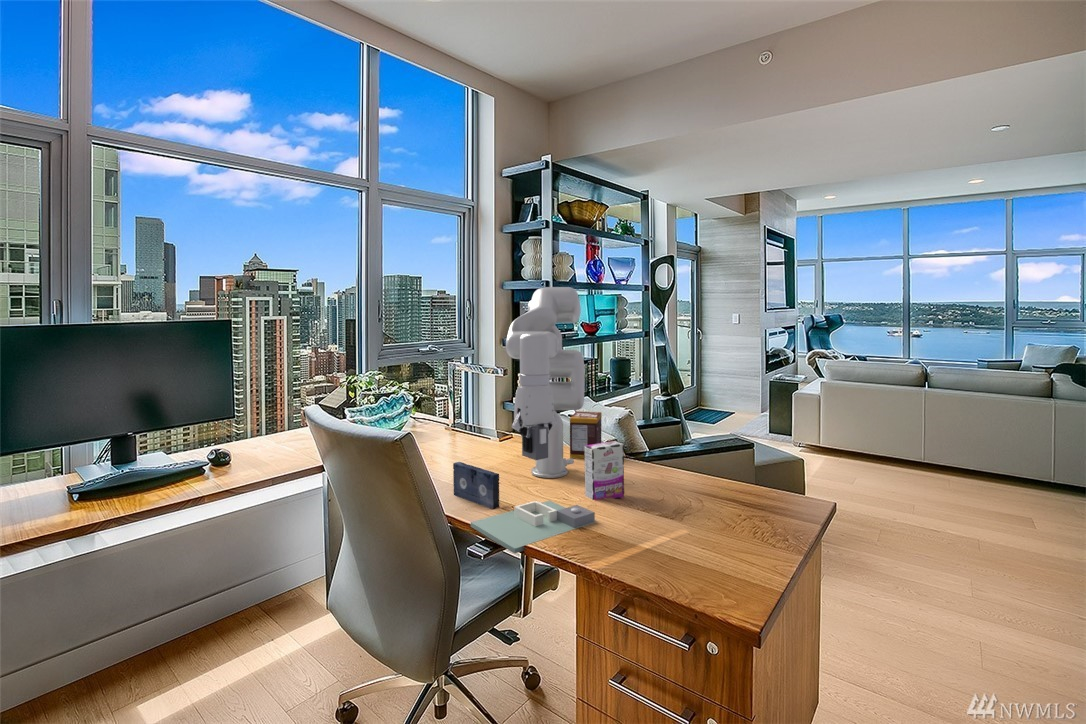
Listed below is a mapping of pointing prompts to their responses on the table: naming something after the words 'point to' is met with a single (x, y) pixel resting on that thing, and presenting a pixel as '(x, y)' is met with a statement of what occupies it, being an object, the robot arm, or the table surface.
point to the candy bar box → (604, 470)
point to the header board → (523, 525)
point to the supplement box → (584, 432)
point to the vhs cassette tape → (476, 485)
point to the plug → (538, 443)
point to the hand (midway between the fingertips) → (535, 449)
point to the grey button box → (575, 516)
